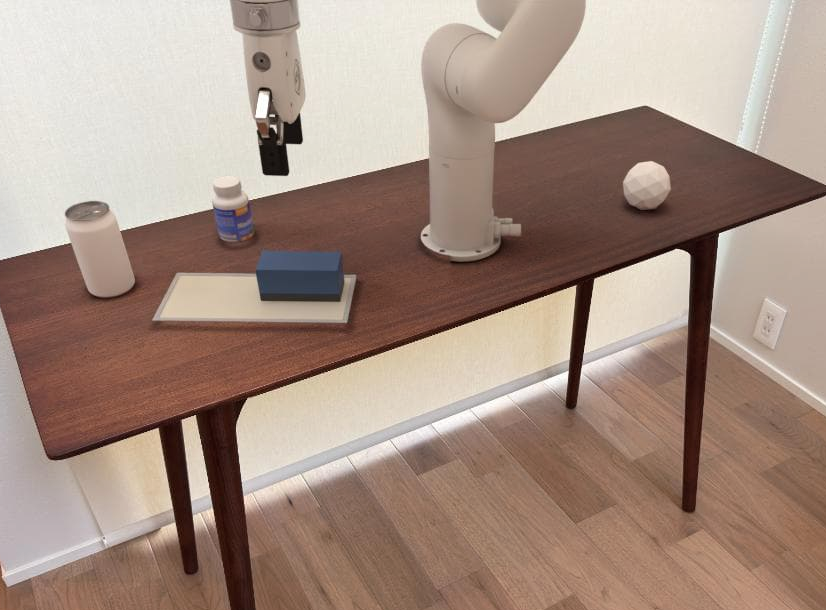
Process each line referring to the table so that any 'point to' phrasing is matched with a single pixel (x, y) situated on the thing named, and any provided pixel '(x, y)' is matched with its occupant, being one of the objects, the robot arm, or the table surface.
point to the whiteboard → (243, 301)
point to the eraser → (300, 276)
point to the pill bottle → (232, 210)
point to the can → (99, 249)
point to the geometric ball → (646, 185)
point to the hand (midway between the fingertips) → (283, 158)
